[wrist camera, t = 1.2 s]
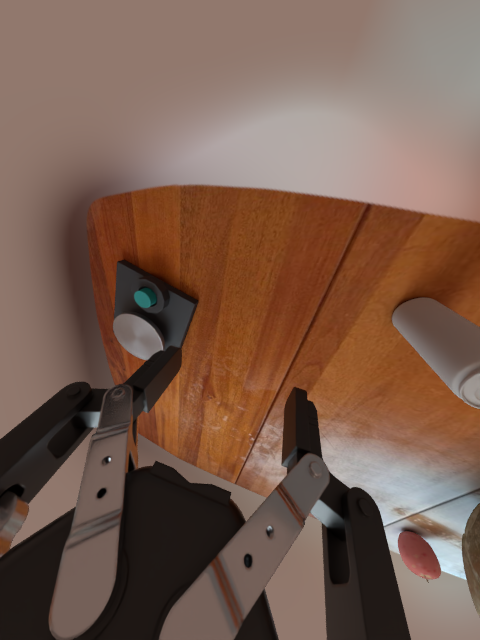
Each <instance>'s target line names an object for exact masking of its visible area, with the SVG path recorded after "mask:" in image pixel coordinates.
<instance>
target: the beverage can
mask: <svg viewBox="0 0 480 640" xmlns="http://www.w3.org/2000/svg"><path fill="white" fill-rule="evenodd" d="M392 322H393V325H394V326H395V327H396V328H397V330H398V331H399V332H400V333H401V334H402V335H403V336H404V337H405V339H406V340H407V341H408V342H409V343H410V344H411V345H412V346H413V348H414V349H415V350H416V351H417V352H418V353H419V354H420V355H421V357H422V358H423V359H424V360H425V361H426V362H427V363H428V364H429V366H430V367H431V368H432V369H433V370H434V371H435V372H436V374H437V375H438V376H439V377H440V378H441V379H442V380H443V381H444V383H445V384H446V385H447V386H448V387H449V388H450V389H451V390H452V392H453V393H454V394H455V395H457V396H458V397H459V398H461V399H462V400H463V401H464V402H466V403H467V404H468V405H470V406H472V407H475V408H478V409H480V327H478V326H477V325H475V324H473V323H472V322H470V321H469V320H467V319H465V318H464V317H462V316H460V315H459V314H457V313H455V312H454V311H452V310H451V309H449V308H447V307H446V306H444V305H442V304H441V303H439V302H437V301H436V300H434V299H431V298H416V299H412V300H409V301H407V302H405V303H403V304H401V305H400V306H398V307H397V309H396V310H395V311H394V313H393V315H392Z"/></svg>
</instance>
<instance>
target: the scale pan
mask: <svg viewBox="0 0 480 640" xmlns="http://www.w3.org/2000/svg"><path fill="white" fill-rule="evenodd" d="M113 329H114V333H115V336H116V338H117V339H118V341H119V342H120V344H121V345H122V346H123V347H124V348H125V349H126V350H127V351H128V352H130V353H131V354H133V355H134V356H136V357H138V358H141V359H145V360H148V359H149V358H150V357H151V356H152V355H153V354H154V353H156V352H158V351H160V350H163V351H164V349H165V341H164V337H163V335H162V333H161V331H160V330H159V328H158V327H157V326H156V325H155V324H154V323H153V322H152V321H151V320H150V319H148V318H147V317H145V316H143V315H141V314H139V313H135V312H125V313H122V314H120V315H119V316H117V317H116V318H115V320H114V323H113Z"/></svg>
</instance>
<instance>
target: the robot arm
mask: <svg viewBox="0 0 480 640" xmlns="http://www.w3.org/2000/svg"><path fill="white" fill-rule="evenodd" d="M181 363H182V349H181V348H178V347H175V346H172V345H170V346H169V347H168V348H167V349H166V350H165V351H163V350H160V351H158V352H156V353H154V354H153V355H152V356H151V357H150V358H149V359H148V361H146V362H145V363H144V364H143V365H142V366H141V367H140V368H139V369H138V370H137V371H136V372H135V373H134V374H133V375H132V376H131V377H130V378H129V379H128V380H127V381H126V382H125V383H123V384H118V385H115V386H113V387H111V388H110V389H91V387H90V385H89V384H88V383H86V382H75V383H72V384H70V385H68V386H66V387H64V388H63V389H62V390H60V391H59V392H58V393H57V394H55V395H54V396H53V397H52V398H51V399H49V400H48V401H47V402H46V403H44V404H43V405H42V406H41V407H39V408H38V409H37V410H36V411H35V412H33V413H32V414H31V415H30V416H28V417H27V418H26V419H25V420H23V421H22V422H21V423H20V424H19V425H17V426H16V427H15V428H14V429H12V430H11V431H10V432H9V433H7V434H6V435H5V436H4V437H3V438H1V439H0V640H279V639H278V635H277V632H276V628H275V624H274V621H273V617H272V613H271V610H270V607H269V603H268V599H267V595H266V592H265V587H266V585H267V583H268V582H269V580H270V579H271V577H272V576H273V574H274V573H275V571H276V569H277V568H278V566H279V565H280V563H281V561H282V560H283V558H284V557H285V555H286V554H287V552H288V551H289V549H290V548H291V546H292V544H293V543H294V541H295V540H296V538H297V537H298V535H299V534H300V532H301V530H302V528H303V527H304V525H305V520H306V518H307V516H308V515H309V513H311V514H312V515H314V516H315V517H316V518H317V519H318V520H319V521H320V522H321V523H322V539H323V559H324V560H323V562H324V584H325V606H326V630H327V640H411V638H410V634H409V629H408V625H407V621H406V617H405V613H404V609H403V605H402V601H401V596H400V592H399V588H398V584H397V580H396V576H395V572H394V568H393V564H392V560H391V555H390V551H389V547H388V543H387V539H386V535H385V530H384V526H383V522H382V518H381V514H380V511H379V509H378V507H377V505H376V503H375V502H374V500H373V499H372V497H371V496H370V495H369V494H368V493H367V492H365V491H364V490H362V489H361V488H358V487H353V488H351V489H350V488H349V487H347V486H346V485H345V484H343V483H342V482H341V481H339V480H338V479H337V478H335V477H334V476H333V475H332V474H331V473H330V471H329V470H328V468H327V466H326V464H325V463H324V461H323V458H322V452H321V443H320V434H319V428H318V426H319V425H318V416H317V410H316V408H315V406H314V404H313V402H311V401H308V400H307V392H306V391H305V390H302V389H299V388H296V387H294V388H293V390H292V392H291V393H290V395H289V397H288V399H287V401H286V404H285V409H284V428H283V446H282V466H284V467H287V476H286V477H285V478H284V479H283V480H282V481H281V482H280V484H279V485H278V486H277V487H276V488H275V489H274V490H273V492H272V493H271V494H270V495H269V496H268V497H267V498H266V500H265V501H264V502H263V503H262V504H261V505H260V507H259V508H258V509H257V510H256V511H255V512H254V513H253V515H252V516H251V517H250V518H249V519H248V520H247V521H245V518H244V516H243V514H242V512H241V511H240V509H239V508H238V506H237V505H236V504H235V503H234V501H233V500H232V499H230V496H231V492H229V491H227V490H224V489H222V488H220V487H217V486H215V485H212V484H198V483H189V482H188V481H187V480H186V479H185V478H184V477H183V476H181V475H180V474H179V473H178V472H177V471H176V470H175V469H174V468H172V467H170V466H167V465H164V464H162V463H160V462H158V461H156V462H155V463H154V465H153V466H146V467H141V468H138V453H137V442H138V416H139V415H140V413H141V412H142V411H144V412H147V413H149V411H150V410H151V408H152V407H153V406H154V404H155V403H156V402H157V400H158V399H159V398H160V396H161V395H162V393H163V392H164V391H165V389H166V388H167V387H168V385H169V384H170V383H171V381H172V380H173V378H174V377H175V376H176V374H177V373H178V372H179V370H180V367H181ZM94 427H97V431H96V433H95V434H94V435H92V437H91V440H90V444H89V449H88V453H87V458H86V463H85V467H84V472H83V477H82V481H81V486H80V491H79V495H78V500H77V505H76V507H74V508H73V509H71V510H70V511H68V512H67V513H65V514H64V515H62V516H60V517H59V518H57V519H56V520H54V521H53V522H51V523H50V524H48V525H47V526H45V527H44V528H42V529H40V530H39V531H37V532H36V533H34V534H33V535H31V536H30V537H28V538H27V539H25V540H23V541H22V542H21V543H19V544H17V545H16V546H14V547H13V548H12V549H10V546H11V543H12V541H13V538H14V537H15V535H16V533H17V532H18V531H19V530H20V529H21V527H22V524H23V523H24V521H25V520H26V517H27V515H28V511H29V505H28V504H29V503H30V501H31V500H32V499H33V498H34V497H35V495H36V494H37V493H38V492H39V491H40V490H41V489H42V487H43V486H44V485H45V484H46V483H47V482H48V481H49V479H50V478H51V477H52V476H53V475H54V474H55V472H56V471H57V470H58V469H59V468H60V467H61V465H62V464H63V463H64V462H65V461H66V460H67V459H68V457H69V456H70V455H71V454H72V453H73V451H74V450H75V449H76V448H77V447H78V446H79V445H80V443H81V442H82V441H83V440H84V439H85V438H86V436H87V435H88V434H89V433H90V432H91V431H92V429H93V428H94Z"/></svg>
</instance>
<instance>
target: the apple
mask: <svg viewBox="0 0 480 640" xmlns="http://www.w3.org/2000/svg"><path fill="white" fill-rule="evenodd" d="M398 548H399V552H400V555H401V557H402V559H403V561H404V563H405V565H406V566H407V567H408V568H409V569H410V570H411V571H412V572H413V573H415V574H416V575H418V576H420V577H422V578H425V579H426V580H427V579H436V578H438V577H439V576H440V574H441V568H440V564H439V562H438V559H437V557H436V555H435V553H434V551H433V549H432V548H431V546H430V545H429V544H428V543H427V542H426V541H425V540H424V539H423V538H422V537H421V536H419V535H418V534H416V533H414V532H410V531H404V532H401V533H400V535H399V538H398ZM427 581H428V580H427Z"/></svg>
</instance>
